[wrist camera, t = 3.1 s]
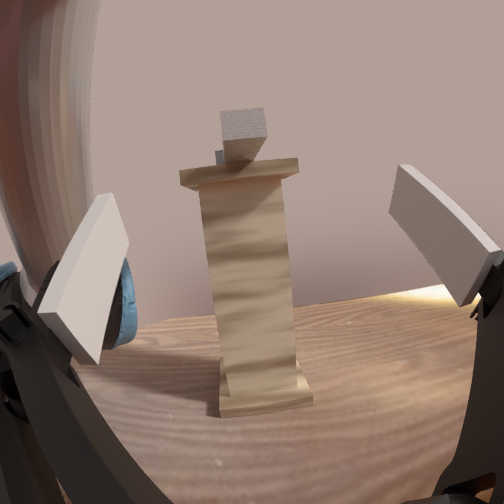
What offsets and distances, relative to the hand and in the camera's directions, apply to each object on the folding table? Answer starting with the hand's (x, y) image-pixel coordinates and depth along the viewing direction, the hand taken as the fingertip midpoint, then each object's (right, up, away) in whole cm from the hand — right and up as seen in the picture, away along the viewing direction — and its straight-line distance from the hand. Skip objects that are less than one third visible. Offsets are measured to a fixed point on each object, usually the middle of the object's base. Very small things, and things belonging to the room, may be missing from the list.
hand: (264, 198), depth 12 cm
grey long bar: (-2, +7, +17) cm, 18 cm away
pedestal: (+1, -22, +28) cm, 35 cm away
